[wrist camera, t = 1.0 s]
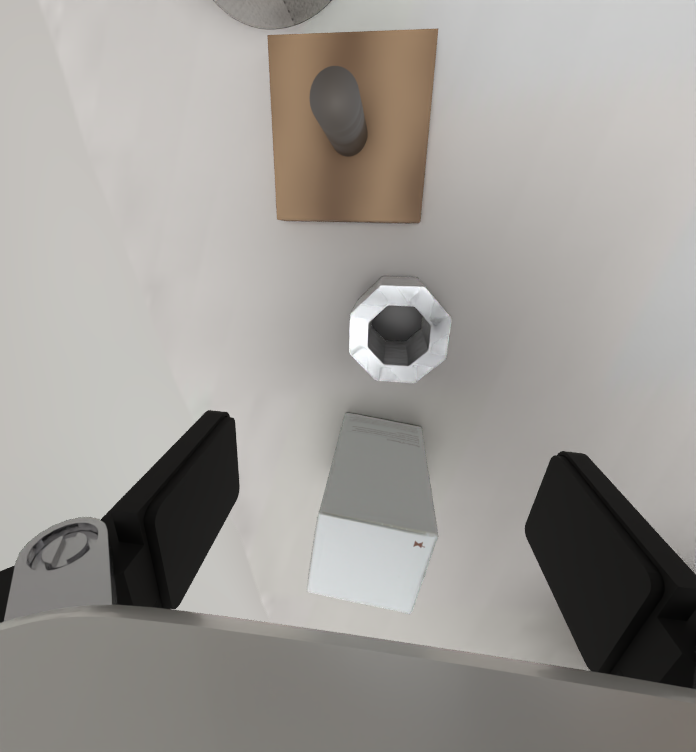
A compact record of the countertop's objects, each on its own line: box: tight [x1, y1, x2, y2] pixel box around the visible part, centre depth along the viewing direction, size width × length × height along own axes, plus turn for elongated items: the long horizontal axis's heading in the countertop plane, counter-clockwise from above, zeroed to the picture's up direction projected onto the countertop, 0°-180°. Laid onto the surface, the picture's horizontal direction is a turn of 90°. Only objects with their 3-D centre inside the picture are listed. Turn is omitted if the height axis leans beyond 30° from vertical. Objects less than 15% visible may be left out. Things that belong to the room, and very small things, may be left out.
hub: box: [349, 276, 452, 383], centre depth 25 cm, size 6×6×6 cm
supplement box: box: [307, 413, 438, 614], centre depth 27 cm, size 7×7×13 cm
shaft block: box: [268, 29, 438, 223], centre depth 20 cm, size 10×10×8 cm
